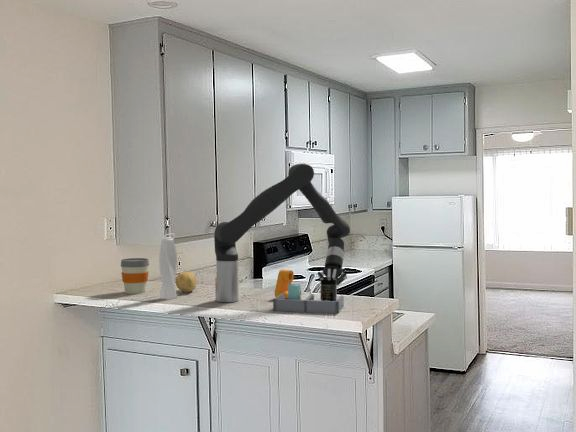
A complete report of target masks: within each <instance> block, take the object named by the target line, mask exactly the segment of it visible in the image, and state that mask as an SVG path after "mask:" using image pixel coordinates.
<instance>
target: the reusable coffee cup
mask: <svg viewBox="0 0 576 432" xmlns="http://www.w3.org/2000/svg"><path fill="white" fill-rule="evenodd" d="M149 263H150V262H149V258H145V257H143V258H142V257H135V258H134V257H133V258H124V259H123V258H122V259H120V267H121V273H120V274H121V278H122V282H123V285H124V294H127V295H128V294H129V295H138V294H144V293H146V291H147V290H146V287H147V282H148V280H149V279H148V278H149V271H148V270H149V265H150V264H149Z"/></svg>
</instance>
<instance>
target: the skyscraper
mask: <svg viewBox="0 0 576 432" xmlns="http://www.w3.org/2000/svg"><path fill="white" fill-rule="evenodd" d="M169 235H173V237H170V236H169ZM175 238H176V233H173V232H172V233H171V232H170V233H166V234H164V235H163V236H162V237H161V240H160V247H159V253H158V264H159V265H158V267H159V275H160V279H161V283H162V284H161V289H160V294H159V299H160V300H167V301H169V300H174V299H177V298H178V294H177V290H176V285H175V283H174V282H175V280H176V273H177V266H178V257H177V249H176V243H175Z"/></svg>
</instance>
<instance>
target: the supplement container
mask: <svg viewBox="0 0 576 432" xmlns="http://www.w3.org/2000/svg"><path fill="white" fill-rule="evenodd" d="M337 279H338V278H337ZM337 279H336V278H326V277H324V278H321V279H320V278H319V281H320V282H319V283H320V287H319V288H320V294H319V295H320V296H319V297H320V299H319V301H337V299H338V297H337V294H338V293H337V292H338V290H337V289H338V285H337Z"/></svg>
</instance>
